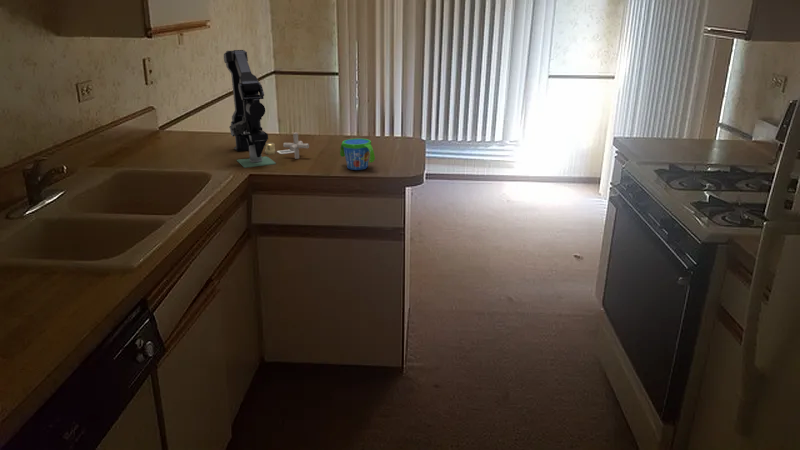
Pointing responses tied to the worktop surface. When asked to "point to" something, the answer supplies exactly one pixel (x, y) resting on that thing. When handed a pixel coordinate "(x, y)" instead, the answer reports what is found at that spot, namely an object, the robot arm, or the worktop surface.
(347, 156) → the snack cup
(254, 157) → the cylinder
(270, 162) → the mat
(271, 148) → the brass fitting
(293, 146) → the pipe connector
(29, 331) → the worktop surface
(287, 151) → the label tile
